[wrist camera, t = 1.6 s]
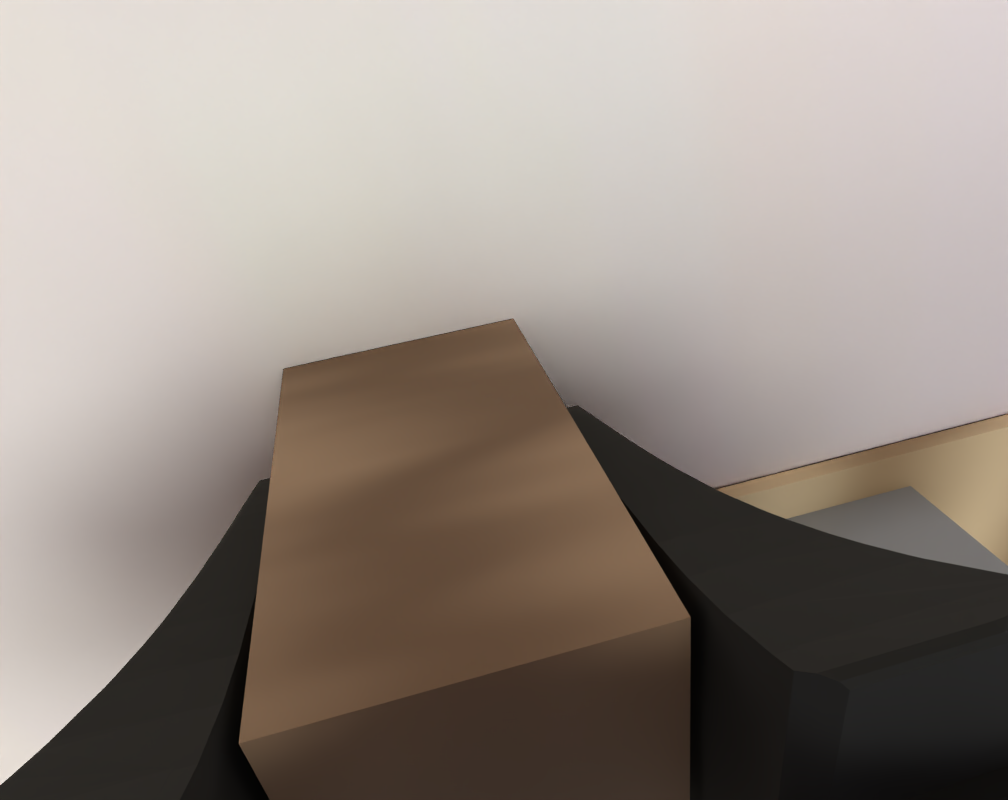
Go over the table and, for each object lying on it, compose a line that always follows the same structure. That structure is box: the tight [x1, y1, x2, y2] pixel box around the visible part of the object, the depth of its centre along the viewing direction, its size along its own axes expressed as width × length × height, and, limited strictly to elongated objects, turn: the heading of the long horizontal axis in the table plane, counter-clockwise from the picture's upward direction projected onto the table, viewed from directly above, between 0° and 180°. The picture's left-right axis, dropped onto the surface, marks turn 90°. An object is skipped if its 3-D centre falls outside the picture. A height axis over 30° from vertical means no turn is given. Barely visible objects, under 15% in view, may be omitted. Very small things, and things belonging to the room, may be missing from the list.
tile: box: [788, 486, 1008, 574], centre depth 13 cm, size 8×2×6 cm, turn 98°
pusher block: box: [239, 319, 691, 800], centre depth 10 cm, size 4×4×7 cm
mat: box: [716, 414, 1008, 566], centre depth 19 cm, size 14×14×1 cm
